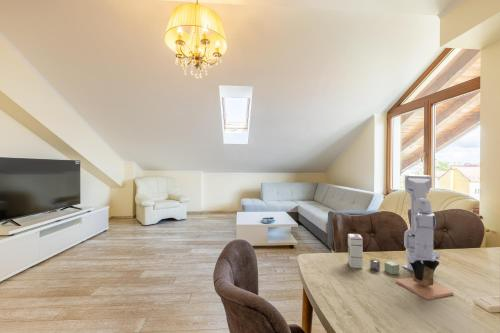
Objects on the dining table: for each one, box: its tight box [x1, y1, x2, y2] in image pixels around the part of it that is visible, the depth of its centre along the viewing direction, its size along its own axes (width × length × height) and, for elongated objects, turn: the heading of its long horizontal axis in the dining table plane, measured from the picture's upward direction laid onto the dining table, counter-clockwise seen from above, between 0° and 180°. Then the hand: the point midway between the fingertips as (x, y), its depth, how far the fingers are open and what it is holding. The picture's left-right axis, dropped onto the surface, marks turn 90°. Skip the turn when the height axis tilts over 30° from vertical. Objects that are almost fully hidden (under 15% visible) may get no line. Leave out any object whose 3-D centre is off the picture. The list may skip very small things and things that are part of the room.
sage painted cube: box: [383, 261, 400, 275], centre depth 106 cm, size 4×4×4 cm
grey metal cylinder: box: [369, 258, 381, 272], centre depth 109 cm, size 4×4×4 cm
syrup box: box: [347, 233, 364, 269], centre depth 113 cm, size 6×6×14 cm
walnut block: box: [412, 266, 434, 286], centre depth 93 cm, size 4×4×6 cm
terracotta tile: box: [395, 277, 454, 301], centre depth 93 cm, size 13×13×1 cm
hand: (423, 278), depth 93 cm, fingers closed on walnut block, 4 cm apart
